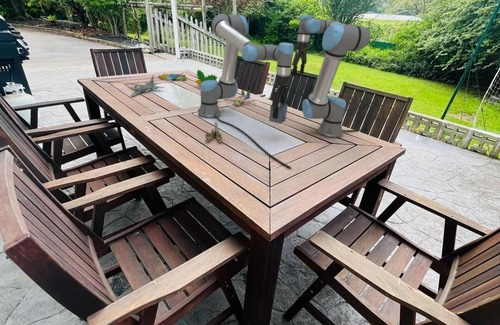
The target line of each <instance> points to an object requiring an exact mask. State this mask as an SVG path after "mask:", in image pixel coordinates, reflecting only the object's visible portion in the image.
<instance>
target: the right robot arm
mask: <svg viewBox="0 0 500 325" xmlns="http://www.w3.org/2000/svg"><path fill="white" fill-rule="evenodd" d="M298 25H299V26H298V31H297V35H296V37H297V42H296V46H295V47H296V48H297V49H296V50H295V53H294V55H293V58H292V64H291V67H292V71H291V72H292V73H291V76H292V77H297V72H298V64H299V61H300V62H301V63H300V67H299V68H300V69H299V74H305V68H306V67H305V66H306V65H307V62H308V59H307V57H308V56H307V53H308V52H307V51H308V48H309V47H308V46H309V41H310V35H311V34H323V36H322V40H321V41H322V42H321V46H322V49H323V53H324V58H323V60H322V63H321V67H320V69H319V72H318V76H317V79H316V82H315V84H314V88H313V91H312V93H310V94H308V97H307V98H305V99H303V100H302V104H301V108H302V114H303V117H304V118H305V119H310V120H314V119H315V120H320V119H321V120H322V122H321V123H320V124H319V126H318V128H317V133H318V134H319V135H320V136H323V137H326V138H331V139H337V138H341V137H342V136H343V132H346V133H350V132H361V131H367V129H366V128H364V127H363V128H360V129H348V130H347V129H343V125H342V124H343V119H344V115H345V111H346V108H347V101H346V100H345V99H344V98H340V97H338V96H333V95H332V96H331V95H330V96H329V92H330V90H331V87H332V85H333V82H334V79H335V77H336V75H337V72H338V70H339V66H340V64H341V61H342V59H344V58H346V56H347V55H348V52H358V51H361V50H363V49H364V48H365V47H366V46H368V44H369V42H370V39H371V34H370V31H369V29H368V28H367V27H365V26H362V25H354V24H345V23H341V21H339V20H331V19H319V18H318V19H317V18H313V16H312V15H310V14H309V15H308V14H301V15H300V18H299V24H298Z"/></svg>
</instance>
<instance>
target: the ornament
mask: <svg viewBox="0 0 500 325" xmlns="http://www.w3.org/2000/svg"><path fill="white" fill-rule="evenodd" d="M196 76H197V80H195V81H194V82H195V84H197V86H199V87H201V83H202V82H204V81H207V80H216V81H217V79H219V78H218V76H216V74H214V75H213V74H208V75H205V73H204V71H202V70H199V69H197V71H196Z"/></svg>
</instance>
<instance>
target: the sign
mask: <svg viewBox="0 0 500 325" xmlns="http://www.w3.org/2000/svg"><path fill="white" fill-rule="evenodd" d="M158 78H159V80H162V81H163V80H165V81H172V82H173V81H178V82H179V81H182V82H184V81H187V77H186V74H180V73H163V74H161V75H158Z"/></svg>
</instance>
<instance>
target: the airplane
mask: <svg viewBox="0 0 500 325" xmlns="http://www.w3.org/2000/svg"><path fill="white" fill-rule="evenodd" d="M154 76H155V75H154V74H152V77H151V78H150V80H149V81H144V83H145V84H137V83H130V85H131V86H133V89H135V90H134V91H133V92H132V93H131V94H130V97H135V96H137V95H139V94H141V93H148V92H150V91H151V90H153V91H157V90H158V88H159V89H162V88H163V89H165V86H156V85H161V82H160V83H159V82H158V83H157V82H155V81H154V78H155V77H154Z"/></svg>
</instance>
